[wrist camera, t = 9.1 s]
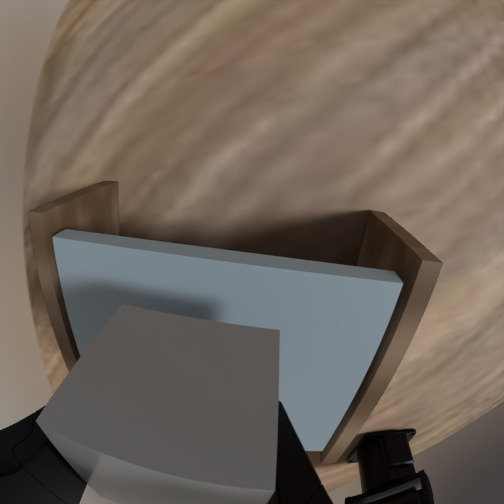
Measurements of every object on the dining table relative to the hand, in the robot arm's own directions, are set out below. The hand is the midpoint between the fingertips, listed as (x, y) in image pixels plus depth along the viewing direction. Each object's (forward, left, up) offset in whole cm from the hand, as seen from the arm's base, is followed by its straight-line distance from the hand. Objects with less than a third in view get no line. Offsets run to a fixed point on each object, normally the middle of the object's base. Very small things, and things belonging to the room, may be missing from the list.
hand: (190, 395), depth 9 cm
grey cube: (0, 0, -1) cm, 1 cm away
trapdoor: (-2, 0, -8) cm, 8 cm away
